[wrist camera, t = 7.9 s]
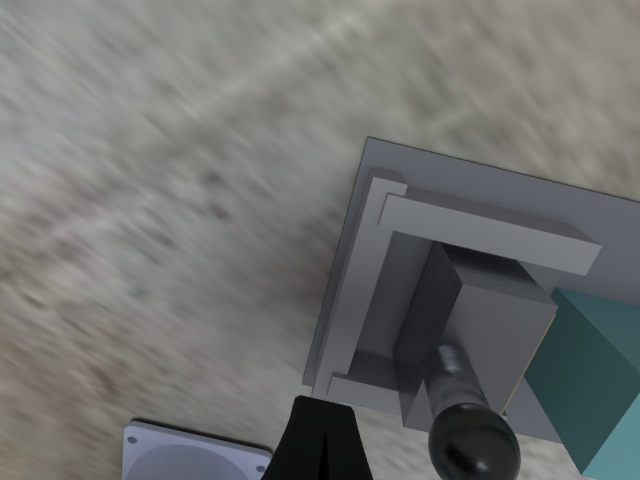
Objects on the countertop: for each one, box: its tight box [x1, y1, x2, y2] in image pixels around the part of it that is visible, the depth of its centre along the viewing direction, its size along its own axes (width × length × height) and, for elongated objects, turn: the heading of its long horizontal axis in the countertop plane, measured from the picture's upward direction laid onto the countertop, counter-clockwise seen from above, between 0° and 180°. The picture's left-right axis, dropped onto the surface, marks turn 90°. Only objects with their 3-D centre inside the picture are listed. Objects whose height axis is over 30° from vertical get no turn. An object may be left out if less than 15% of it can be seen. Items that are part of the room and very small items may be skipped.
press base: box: [302, 137, 640, 444], centre depth 16 cm, size 12×16×3 cm
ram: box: [393, 240, 559, 480], centre depth 13 cm, size 6×4×8 cm, turn 167°
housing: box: [524, 287, 640, 480], centre depth 14 cm, size 4×4×6 cm
